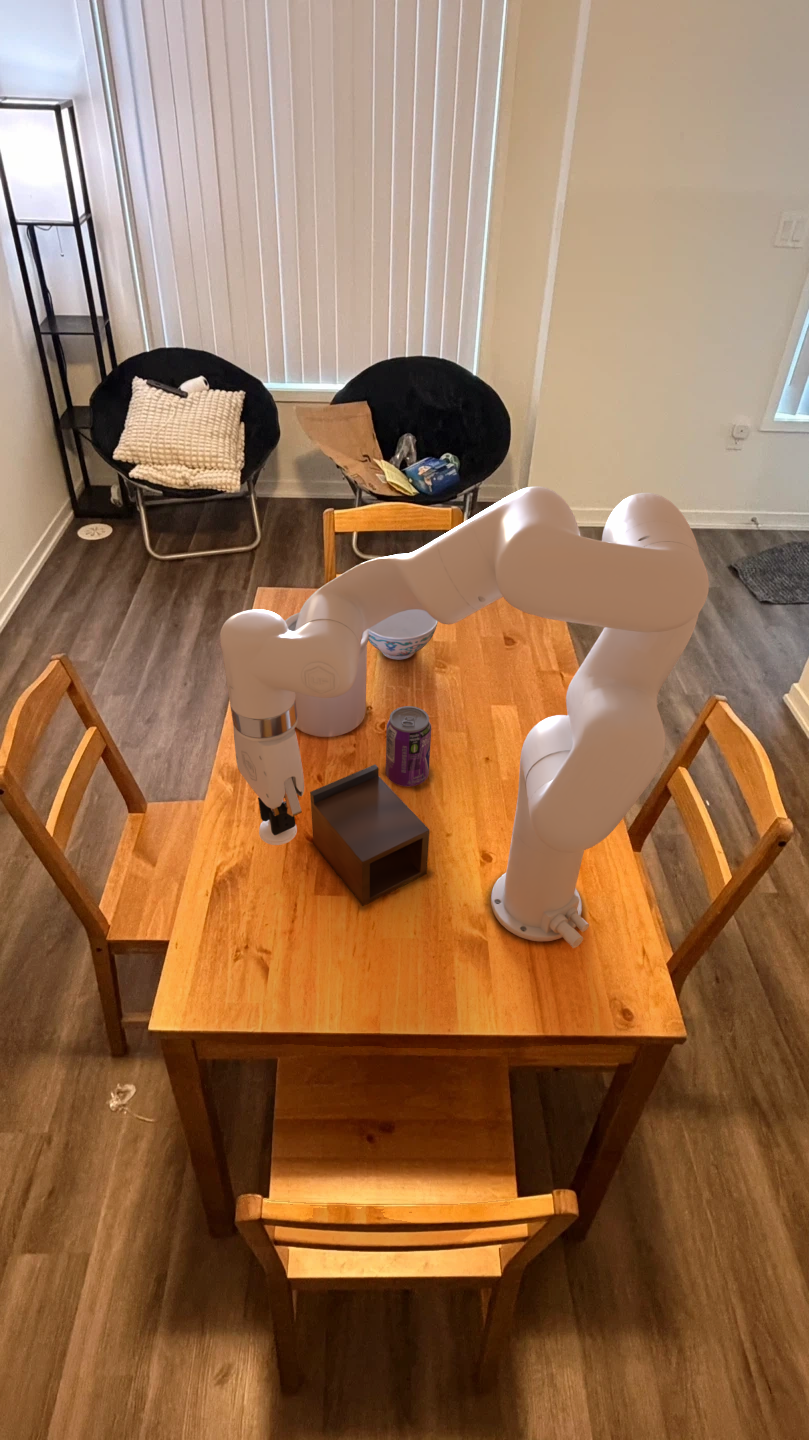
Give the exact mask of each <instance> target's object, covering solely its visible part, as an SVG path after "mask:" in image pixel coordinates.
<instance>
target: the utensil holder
mask: <svg viewBox="0 0 809 1440" xmlns="http://www.w3.org/2000/svg"><path fill="white" fill-rule="evenodd" d="M299 613H300V611H299V612H297V613H294V614H293V615H290V616H289V617H287V619H284V621H285V622H286V624H287V626H288V628H289V630H290V631H295V628H296V624H297V620H298V617H299ZM368 639H369V631H368V629H367V630H366V631H364V632H363V633H362V639H361V647H360V655H359V662H358V670H357V676H356V679H355V682H354V684H353V685H352V687H351V688H350V689H349V690H348V691H347V692H346V693H344V694H343V695H340V696H338V697H333V698H319V697H313V696H308V695H304V694H300V693H296V692H295V696H296V706H297V717H298V721H297V725H296V727H295V728H296V729H297V730H298V731H300V732H302V733H304V734H306V735H310V736H312V737H319V738H331V737H337V736H338V737H339V736H342V735H343V736H344V735H345V734H348V733H350V732H352V731H354V730H355V729H357V727H359V726H360V724H361V723H362V722H363V720H364V718H365V716H366V711H367V670H368V667H367V666H368V665H367V663H368V659H367V658H368V657H367V656H368V655H367V653H368V652H367V651H368V644H369V641H368Z"/></svg>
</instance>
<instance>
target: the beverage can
mask: <svg viewBox="0 0 809 1440" xmlns="http://www.w3.org/2000/svg"><path fill="white" fill-rule="evenodd" d="M385 728H386V730H385V731H386V732H385V733H386V734H385V735H386V736H385V776H386V777H387V779H388V780H389V781H390V782H391V783H393V784H395V785H397V786H400V787H415V786H419V785H421V784H422V783H424V782H425V781H426V780H427V779H428V778H429V775H430V765H431V763H430V761H431V746H432V745H431V744H432V724H431V722H430V716H429V714H428V712H427V711H425V710H424V709H422V708H420V707H417V706H413V705H403V706H400V707H397V708H395V709H394V710H392V711H391V712H390V714H389V719H388V721H387V723H386V727H385Z"/></svg>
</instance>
